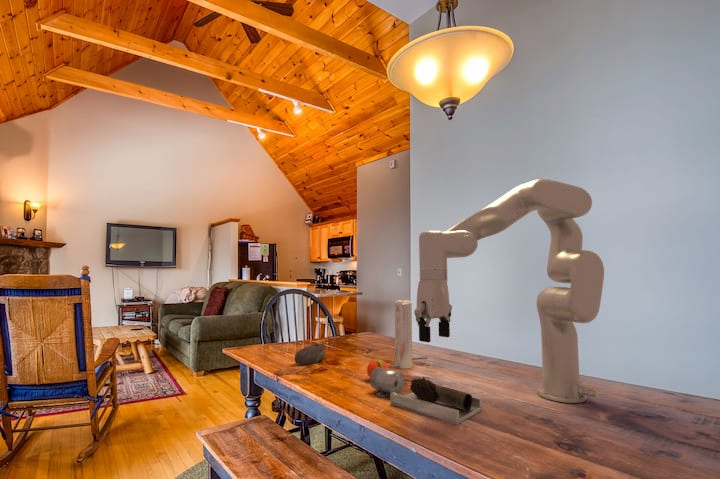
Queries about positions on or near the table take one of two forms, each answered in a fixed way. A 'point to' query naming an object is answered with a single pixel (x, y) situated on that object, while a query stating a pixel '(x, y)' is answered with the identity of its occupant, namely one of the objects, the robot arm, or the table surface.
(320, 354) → the perforated stone tool
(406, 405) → the cradle
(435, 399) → the brown knobbed club
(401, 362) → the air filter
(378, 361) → the clementine
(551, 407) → the table surface
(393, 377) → the duct stub
